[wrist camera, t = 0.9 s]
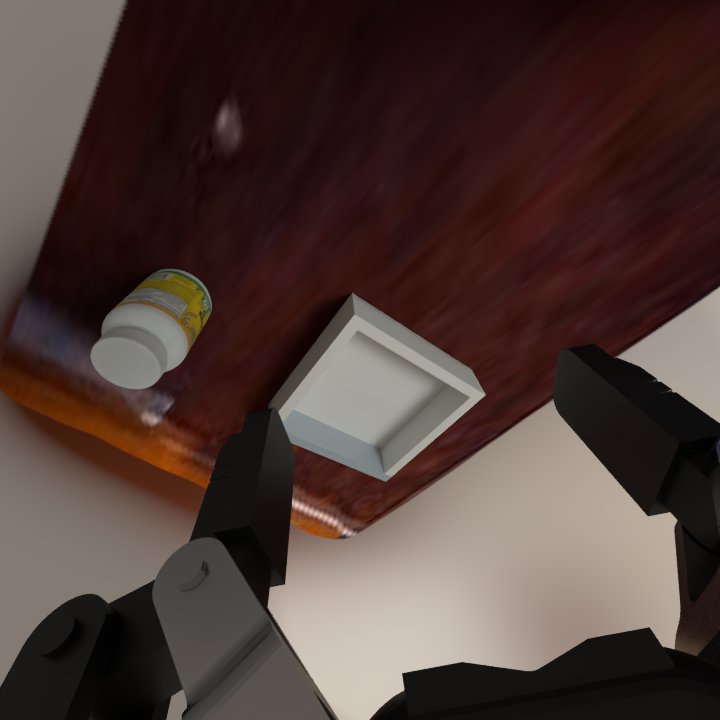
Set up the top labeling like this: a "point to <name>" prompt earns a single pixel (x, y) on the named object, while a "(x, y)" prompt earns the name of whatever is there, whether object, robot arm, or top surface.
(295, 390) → the box
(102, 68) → the top surface
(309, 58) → the top surface
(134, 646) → the robot arm
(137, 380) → the supplement bottle
